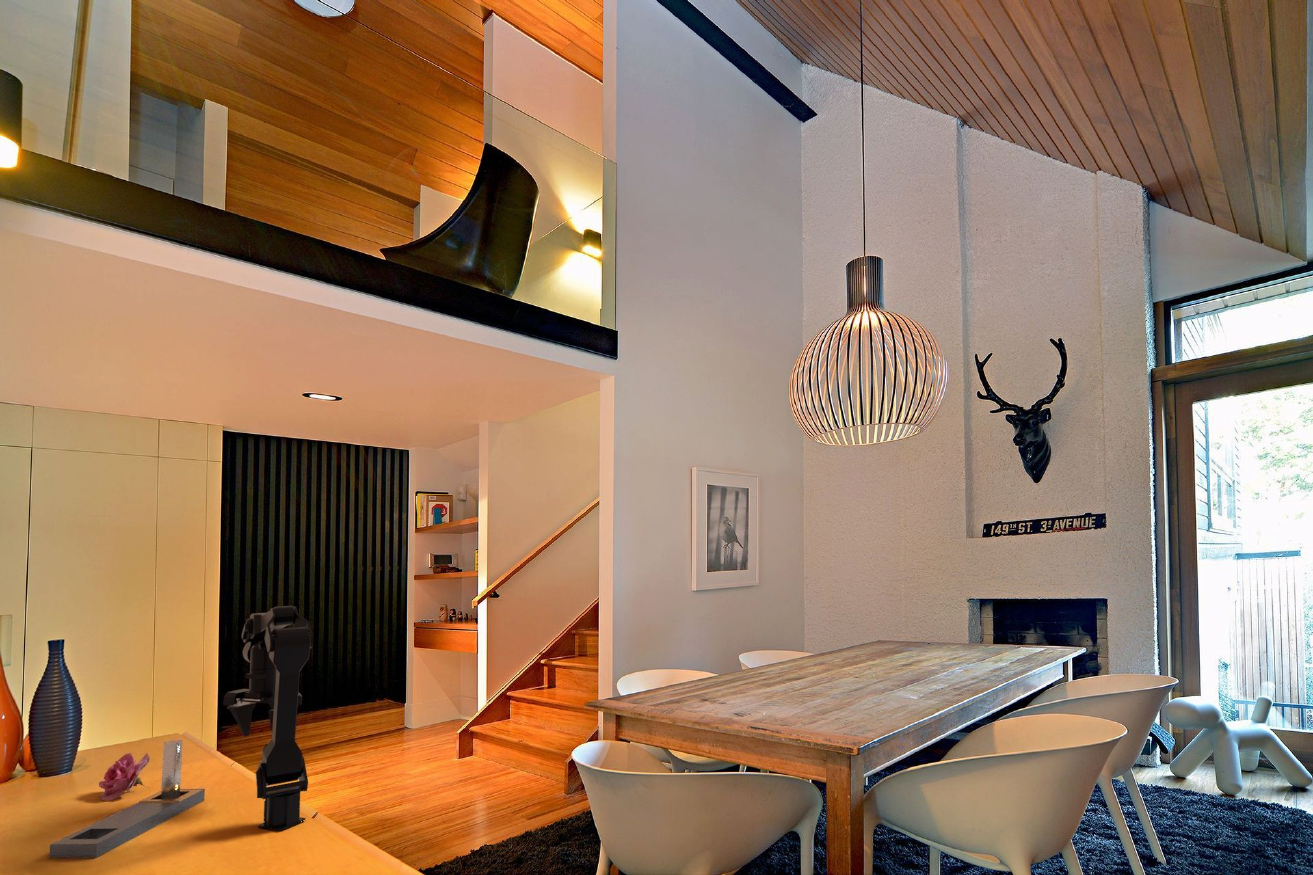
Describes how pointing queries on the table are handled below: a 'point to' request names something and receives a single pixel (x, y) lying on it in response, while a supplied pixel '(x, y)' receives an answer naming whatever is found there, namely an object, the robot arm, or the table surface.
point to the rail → (124, 825)
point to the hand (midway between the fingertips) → (261, 737)
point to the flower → (122, 776)
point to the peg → (171, 769)
